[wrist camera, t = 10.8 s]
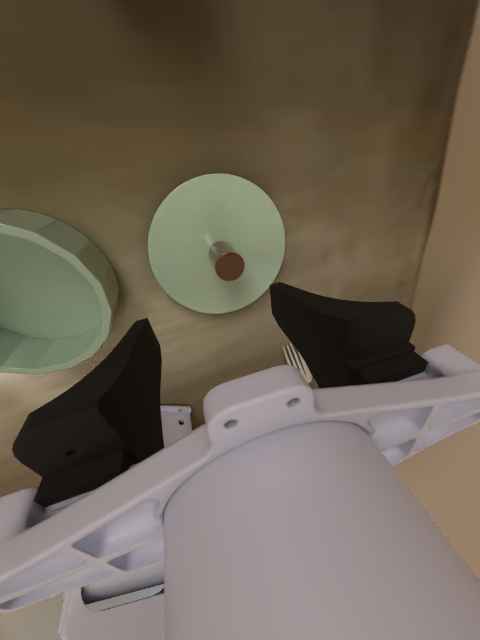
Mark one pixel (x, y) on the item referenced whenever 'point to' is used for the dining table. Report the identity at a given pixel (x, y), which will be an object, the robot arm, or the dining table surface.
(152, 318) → the dining table surface
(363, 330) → the robot arm
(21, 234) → the pot
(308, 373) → the fork
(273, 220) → the lid
